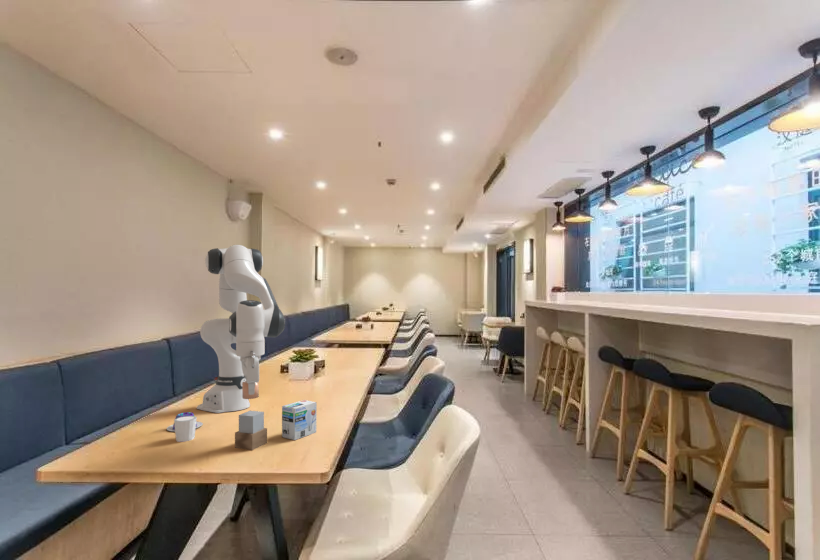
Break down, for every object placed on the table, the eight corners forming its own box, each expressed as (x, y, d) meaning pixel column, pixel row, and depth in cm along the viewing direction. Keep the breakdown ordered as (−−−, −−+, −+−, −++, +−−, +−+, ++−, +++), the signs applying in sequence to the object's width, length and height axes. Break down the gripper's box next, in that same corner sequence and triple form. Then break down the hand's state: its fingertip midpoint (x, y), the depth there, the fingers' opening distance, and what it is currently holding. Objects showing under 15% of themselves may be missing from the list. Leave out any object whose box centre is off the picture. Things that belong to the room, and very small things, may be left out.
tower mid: (238, 432, 139) (238, 415, 139) (249, 427, 144) (249, 410, 144) (253, 433, 137) (253, 416, 137) (263, 428, 142) (263, 411, 143)
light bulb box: (294, 440, 144) (294, 408, 145) (281, 437, 148) (280, 405, 148) (317, 432, 154) (317, 401, 154) (303, 429, 157) (303, 399, 157)
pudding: (180, 422, 167) (180, 409, 167) (209, 423, 166) (209, 410, 166) (158, 432, 155) (159, 418, 156) (189, 433, 154) (189, 419, 154)
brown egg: (242, 399, 138) (243, 384, 138) (241, 396, 142) (241, 381, 142) (259, 398, 140) (259, 382, 140) (257, 394, 144) (257, 379, 145)
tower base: (234, 448, 138) (234, 432, 139) (250, 441, 145) (250, 426, 145) (252, 450, 136) (252, 434, 136) (267, 443, 143) (267, 428, 143)
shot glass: (173, 443, 143) (173, 422, 143) (174, 437, 149) (174, 417, 149) (196, 440, 146) (196, 419, 146) (196, 434, 152) (196, 414, 152)
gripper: (264, 352, 133) (264, 397, 133) (257, 346, 152) (257, 385, 152) (242, 354, 131) (242, 400, 130) (238, 347, 149) (238, 387, 149)
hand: (250, 392), depth 141 cm, fingers closed on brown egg, 5 cm apart
